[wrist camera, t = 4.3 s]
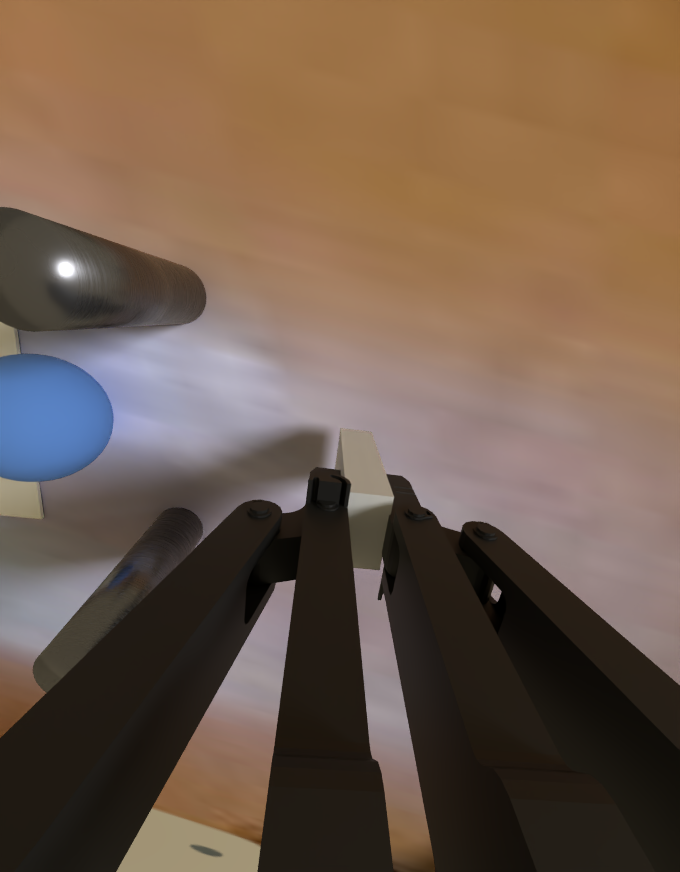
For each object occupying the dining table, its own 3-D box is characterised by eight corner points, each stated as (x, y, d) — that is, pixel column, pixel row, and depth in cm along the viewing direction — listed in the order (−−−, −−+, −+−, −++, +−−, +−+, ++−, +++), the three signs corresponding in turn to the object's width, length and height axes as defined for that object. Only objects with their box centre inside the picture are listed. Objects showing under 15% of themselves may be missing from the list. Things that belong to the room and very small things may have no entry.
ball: (136, 482, 17) (-28, 516, 13) (86, 453, 20) (-60, 473, 16) (135, 364, 16) (-46, 355, 11) (83, 353, 19) (-77, 342, 14)
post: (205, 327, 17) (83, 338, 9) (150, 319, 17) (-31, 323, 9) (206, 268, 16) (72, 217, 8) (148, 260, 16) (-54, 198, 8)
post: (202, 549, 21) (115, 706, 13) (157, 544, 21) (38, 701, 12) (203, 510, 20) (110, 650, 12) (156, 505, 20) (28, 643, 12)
